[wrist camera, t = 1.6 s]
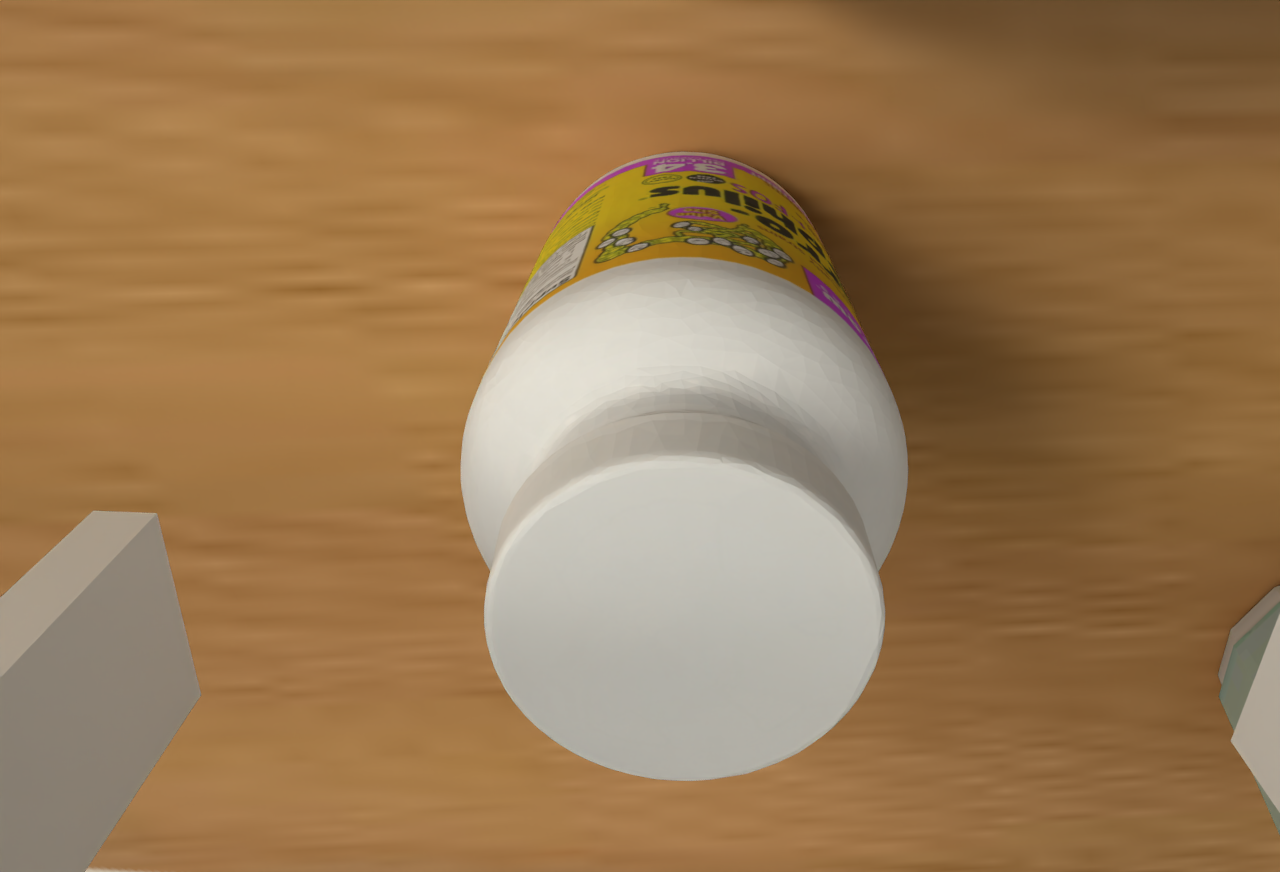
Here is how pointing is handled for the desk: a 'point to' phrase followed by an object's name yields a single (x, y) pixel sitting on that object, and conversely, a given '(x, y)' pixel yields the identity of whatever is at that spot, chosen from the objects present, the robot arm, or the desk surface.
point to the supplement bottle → (684, 478)
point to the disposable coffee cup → (1248, 664)
